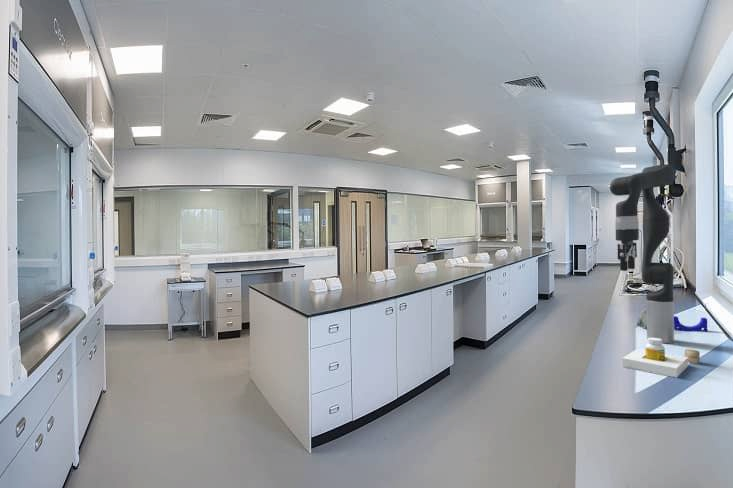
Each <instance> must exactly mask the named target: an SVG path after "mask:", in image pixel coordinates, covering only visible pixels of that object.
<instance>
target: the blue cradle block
mask: <svg viewBox="0 0 733 488" xmlns="http://www.w3.org/2000/svg"><path fill="white" fill-rule="evenodd" d="M674 331H677V332H681V331H682V332H702V333H704V332H705V333H707V332H708V319H707V317H701V318H700V321H699V322H698V323H697V324H695V325H693V326H691V325H690V326H687V325H684V324H682V323H681V322H680V319H679V316H676V315H674Z"/></svg>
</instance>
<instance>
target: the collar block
mask: <svg viewBox="0 0 733 488" xmlns="http://www.w3.org/2000/svg"><path fill="white" fill-rule="evenodd" d="M622 367H623V368H626V369H631V370H636V371H642V372H646V371H647V373H651V372H652V373H651V374H655V375H661V376H667V377H671V378H678V377H679V376H680V375H681V374H682V373H683V372H684V371H685V370H686V369H687V368H688V367H689V363H688V357H685V356H683V355H682V356H681V355H675V354H670V353H666V352H665V362H661V361H656V360H650V359H646V349H641V348H636V349H635V350H633V351H632V352H630V353H629V354H626V355H625V356H624V357H622Z"/></svg>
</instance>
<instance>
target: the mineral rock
mask: <svg viewBox="0 0 733 488" xmlns="http://www.w3.org/2000/svg"><path fill="white" fill-rule="evenodd" d="M636 325H637V326H639V327H641V328H642V329H643V328H644V329H645V330H647V307H645V308H644V309H643V310H642V311H641V312H640V313H639V315H638V318H637V321H636Z"/></svg>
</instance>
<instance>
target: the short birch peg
mask: <svg viewBox="0 0 733 488" xmlns="http://www.w3.org/2000/svg"><path fill="white" fill-rule="evenodd" d="M700 354H701V353H700V351H699V350H696V349H691V348H690V349H689V348H685V349H684V357H688V362H689V363H688V364H693V365H699V364H701V363H700V361H701V360H700V358H701V356H700Z"/></svg>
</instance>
